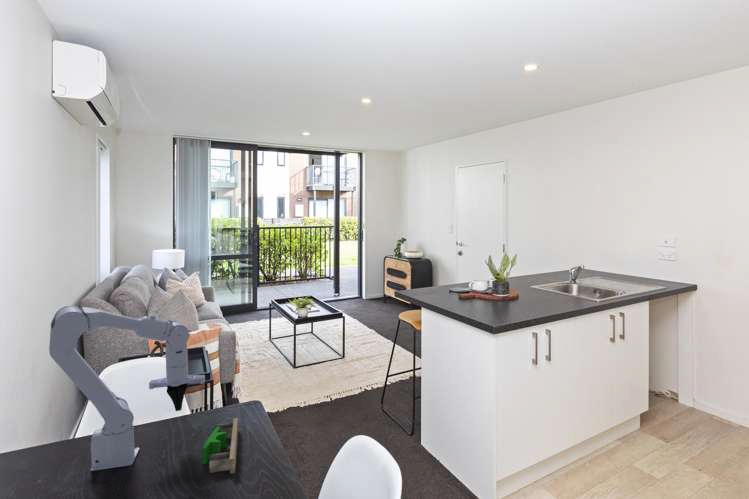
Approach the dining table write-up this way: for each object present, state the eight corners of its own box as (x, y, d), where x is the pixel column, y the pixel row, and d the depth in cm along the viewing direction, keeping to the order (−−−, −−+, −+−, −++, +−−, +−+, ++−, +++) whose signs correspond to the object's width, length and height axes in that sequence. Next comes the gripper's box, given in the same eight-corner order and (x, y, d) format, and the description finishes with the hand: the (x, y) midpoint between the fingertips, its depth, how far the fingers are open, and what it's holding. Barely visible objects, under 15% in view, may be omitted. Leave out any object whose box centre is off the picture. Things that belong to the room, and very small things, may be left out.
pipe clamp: (216, 464, 109) (215, 448, 109) (202, 464, 109) (201, 448, 108) (229, 441, 120) (229, 426, 120) (217, 441, 120) (216, 426, 120)
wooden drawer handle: (208, 477, 103) (208, 461, 103) (216, 433, 124) (216, 420, 124) (234, 473, 105) (234, 457, 104) (238, 430, 126) (237, 417, 125)
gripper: (145, 371, 113) (147, 419, 114) (202, 366, 117) (203, 412, 118) (151, 362, 119) (153, 407, 120) (205, 358, 123) (206, 401, 125)
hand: (178, 409), depth 120 cm, fingers closed
